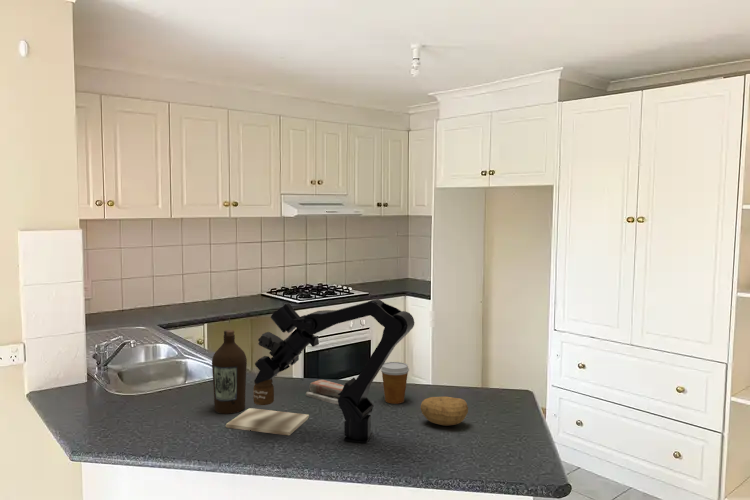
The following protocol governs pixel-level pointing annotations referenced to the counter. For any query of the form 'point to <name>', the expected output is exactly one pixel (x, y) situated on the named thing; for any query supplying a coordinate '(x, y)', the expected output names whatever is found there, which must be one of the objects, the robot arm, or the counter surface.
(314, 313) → the robot arm
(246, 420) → the birch board
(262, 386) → the utensil holder
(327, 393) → the packaged product
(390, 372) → the disposable coffee cup
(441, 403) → the potato
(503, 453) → the counter surface
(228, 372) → the olive oil
